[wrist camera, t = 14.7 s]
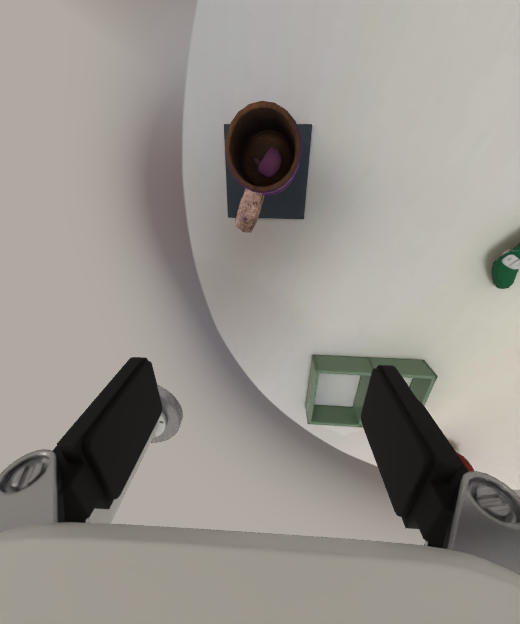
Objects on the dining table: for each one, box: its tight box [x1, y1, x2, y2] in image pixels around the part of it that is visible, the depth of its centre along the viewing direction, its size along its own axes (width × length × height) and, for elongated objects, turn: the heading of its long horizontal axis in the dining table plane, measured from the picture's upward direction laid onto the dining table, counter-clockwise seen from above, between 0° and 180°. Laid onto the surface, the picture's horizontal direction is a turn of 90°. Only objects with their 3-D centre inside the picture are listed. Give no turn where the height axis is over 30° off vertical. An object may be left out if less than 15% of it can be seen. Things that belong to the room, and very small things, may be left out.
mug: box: [225, 101, 302, 232], centre depth 25 cm, size 10×7×12 cm
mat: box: [224, 124, 312, 219], centre depth 30 cm, size 10×10×1 cm
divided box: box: [305, 355, 438, 427], centre depth 43 cm, size 19×13×4 cm
